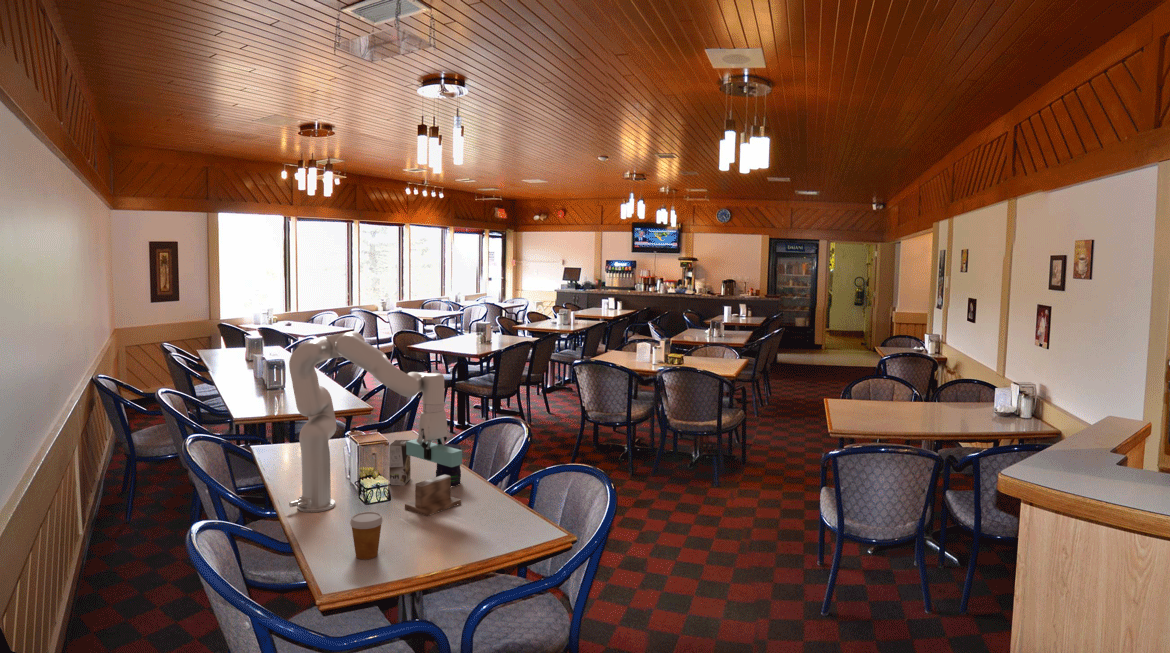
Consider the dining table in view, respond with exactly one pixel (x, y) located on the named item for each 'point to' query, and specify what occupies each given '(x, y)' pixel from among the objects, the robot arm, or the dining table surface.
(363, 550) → the disposable coffee cup
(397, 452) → the coffee box
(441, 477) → the walnut ridge stand
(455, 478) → the storage jar
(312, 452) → the robot arm
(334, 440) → the dining table surface
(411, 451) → the teal bar
